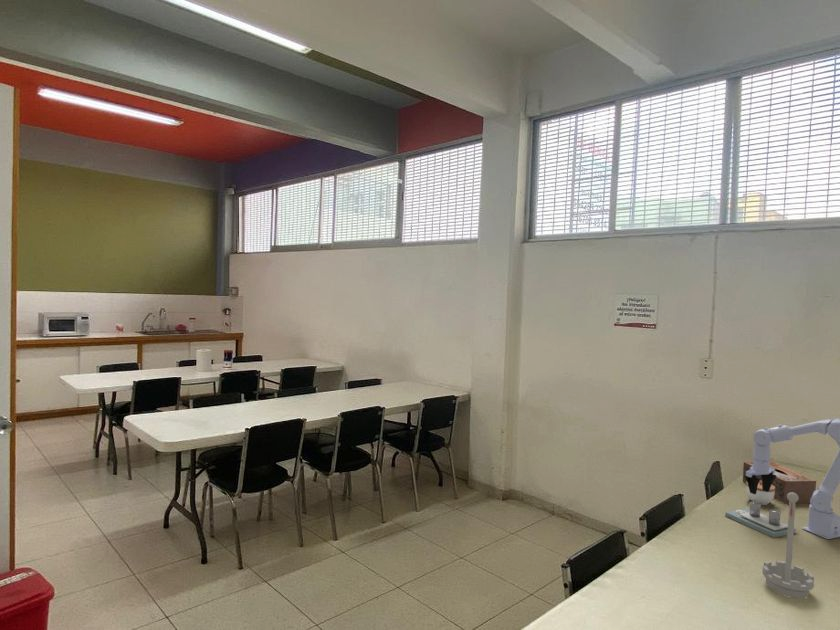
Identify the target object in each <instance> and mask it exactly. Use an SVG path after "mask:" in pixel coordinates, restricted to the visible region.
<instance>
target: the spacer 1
mask: <svg viewBox="0 0 840 630" xmlns="http://www.w3.org/2000/svg"><path fill="white" fill-rule="evenodd" d="M761 508H762V505H761V504H760V503H758V502H754V501H750V502H749V510H750V511H749V515H750V516H752V517H757V518H759V517H760V513H761Z"/></svg>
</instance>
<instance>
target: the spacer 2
mask: <svg viewBox="0 0 840 630" xmlns="http://www.w3.org/2000/svg"><path fill="white" fill-rule="evenodd" d="M768 512H769V513H768V517H769V524H771V525H774V526H780V522H781V513H782V512H781V511H780V510H778V509H773V508H770V509H769V510H768Z"/></svg>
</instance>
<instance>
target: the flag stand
mask: <svg viewBox="0 0 840 630" xmlns="http://www.w3.org/2000/svg"><path fill="white" fill-rule="evenodd" d="M787 499H788V500H789V503H788V504H789V505H788V518H787V525H788V532H787V535H786V551H785V561H783V560H775V563H772V561H770V560H766V561H764V562H763V565H762V575H763V577H764V578H765V585H766V586H767V587H768V588H769V589H770V590H771V589H772V592H775V593H776V594H779V595H781V594H782V596H784V595H785V597H787V596H790V597H789V598H791V597H794V598H793V599H798V598H802V599H806V598H805V597H807V598H809V597H810V591H811V590H812V589H814V587H815V576H814V575H813V574H812V573H811V572H804V570H805V569H804V568H803V567H801V566H798V565H796V564H793V562H792V561H793V549H794V548H793V547H794V535H795V533H794V528H795V516H796V513H795V512H796V503H795V502H797V501H798V499H799V497H798V495H797V494H796V493H794V492H790V493H788V494H787ZM792 564H793V565H792ZM792 566H793V567H792Z"/></svg>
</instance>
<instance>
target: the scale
mask: <svg viewBox="0 0 840 630" xmlns="http://www.w3.org/2000/svg"><path fill="white" fill-rule="evenodd" d="M749 511H750V508H747V507H746V508H740V509H736V510H729V511H725V512H724V516H725V517H726V518H729V519H731V520H733V521H736V522H738V523H740V524H743V525H744V526H747V527H749V528H752V529H753V530H756V531H758V532H761V533H762V534H764V535H766V536H770V537H772V538H775V539H776V538H779V537H784V536H787V532H788V523H784V522H783V521H780V526H774V525H771V524H769V515H768V516H767V515H766V514H763V513H761V512H760V517H759V518H757V517H752V516H750V515H749ZM796 530H797V529H796V528H795V527H794V534H796Z"/></svg>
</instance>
